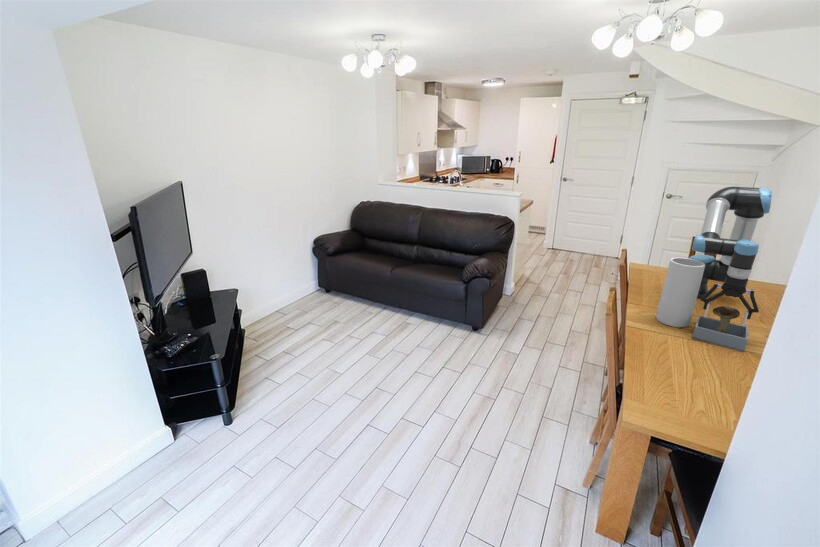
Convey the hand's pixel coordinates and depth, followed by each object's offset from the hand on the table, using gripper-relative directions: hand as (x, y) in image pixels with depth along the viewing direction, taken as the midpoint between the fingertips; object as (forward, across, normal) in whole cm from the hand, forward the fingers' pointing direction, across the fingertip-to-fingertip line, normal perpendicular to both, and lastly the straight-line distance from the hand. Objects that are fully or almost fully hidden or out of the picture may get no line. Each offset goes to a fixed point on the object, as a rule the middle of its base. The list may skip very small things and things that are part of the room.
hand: (723, 320), depth 174 cm
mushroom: (+9, 0, 0) cm, 9 cm away
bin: (+9, 0, 0) cm, 9 cm away
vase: (+9, -19, +6) cm, 22 cm away
